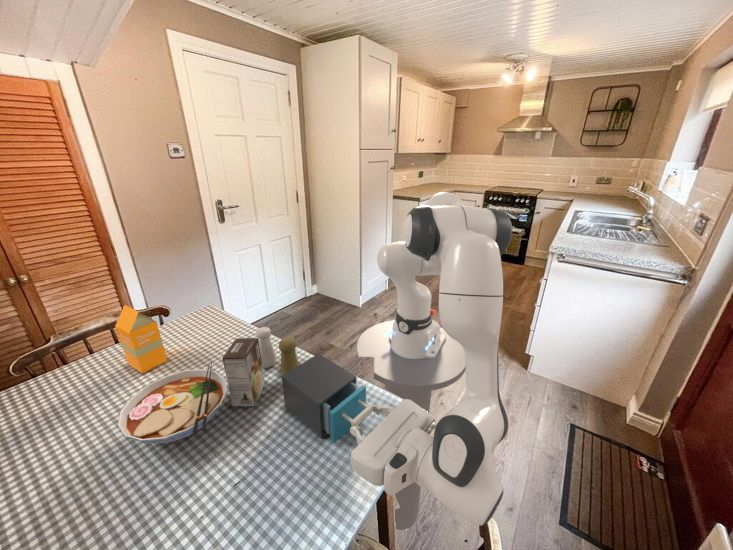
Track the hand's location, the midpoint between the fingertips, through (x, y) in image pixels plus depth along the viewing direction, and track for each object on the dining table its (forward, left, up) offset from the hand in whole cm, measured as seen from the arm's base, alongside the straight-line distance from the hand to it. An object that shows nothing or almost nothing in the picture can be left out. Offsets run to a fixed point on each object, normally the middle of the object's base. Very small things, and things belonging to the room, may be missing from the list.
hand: (363, 416), depth 69 cm
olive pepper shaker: (-4, -34, -8) cm, 35 cm away
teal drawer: (0, -9, -6) cm, 11 cm away
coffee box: (+10, -34, -8) cm, 37 cm away
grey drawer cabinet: (0, -15, -7) cm, 17 cm away
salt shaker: (-1, -42, -8) cm, 43 cm away
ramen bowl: (+26, -38, -8) cm, 47 cm away
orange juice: (+24, -72, -8) cm, 77 cm away
